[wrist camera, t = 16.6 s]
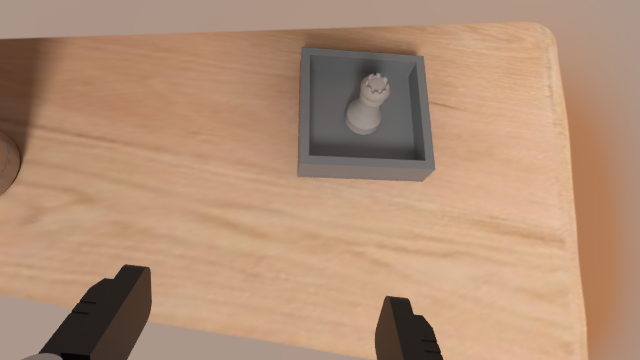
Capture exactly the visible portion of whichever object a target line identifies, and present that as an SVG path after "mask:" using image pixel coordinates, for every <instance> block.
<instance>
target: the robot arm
mask: <svg viewBox="0 0 640 360" xmlns="http://www.w3.org/2000/svg"><path fill="white" fill-rule="evenodd" d="M19 165H20V154H19V151H18V148H17V145H16V144H15V143H14V141H13V140H12V139H11V138H10V137H8V136H7V135H6V134H4V133H3V132H1V131H0V195H1V194H2V193H3V192H4V191H5V190H6V189H7V188H8V187H9V186H10V185H11V183H12V182H13V180H14V179H15V177H16V175H17V172H18V170H19ZM151 304H152V298H151V272H150V268H149V267H144V266H135V265H127V264H126V265H124V266H123V267H122V268H121V269H120V271H119V272H118V274H117V275H116V276H115V278H114V279H107V278H104V279H103V280H101V281H100V282H98V283H97V284H95V285H94V286H92V287H91V288H89V290H88V291H87V292H86V293H85V295H84V296H83V297H82V298H81V300H80V302H79V303H78V304H77V305H76V306H75V307H74V309H73V310H72V312H71V314H69V315H68V316H67V318H66V319H65V320H64V321H63V323H62V324H61V325H60V327H59V328H58V329H57V331H56V332H55V333H54V334H53V336H52V337H51V338H50V339H49V341H48V342H47V343H46V344H45V346H44V347H43V348H42V349H41V351H40V352H39V353H38V354H36V355H32V356H29V357H27V358H24V359H22V360H127V359H128V357H129V355H130V353H131V351H132V349H133V347H134V345H135V343H136V341H137V340H138V338H139V336H140V334H141V332H142V330H143V328H144V326H145V324H146V322H147V320H148V318H149V315H150V311H151ZM375 349H376V355H377V360H443V357H442V355H441V351H440V348H439V346H438V344H437V340H436V337H435V334H434V331H433V328H432V327H431V326H430V324H429V323H428V322H427V321H426V319H425V318H424V317H423V316H422V315H414V314H413V311H412V307H411V304H410V301H409V299H408V298H400V297H392V296H386V297H385V299H384V303H383V306H382V310H381V313H380V317H379V320H378V324H377V327H376V332H375Z"/></svg>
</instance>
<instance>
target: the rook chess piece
mask: <svg viewBox="0 0 640 360" xmlns="http://www.w3.org/2000/svg"><path fill="white" fill-rule="evenodd" d="M387 81H388V78H387V77H386V76H385V77H384V78H383V77H381V73H376V75H373V73H372V74H370V75H369V76H367V77H365V78H364V79H363V80H362V82H361V86H360V88H361V91H360V97H359V98H358V99H356V100H354V101H352V102H351V103H350V104H349V106H348V107H347V110H346V111H345V116H344V119H345V122H346V125H347V126H348V127H349V129H350V130H352V131H353V132H355V133H357V134H362V135H366V134H371V133H373V132H374V131H376V130H377V128H378V127H379V125H380V122H381V118H382V112H381V109H380V105H381V104H382V103H383V102H384V100H385V99H387V98H388V96H389V95H390V91H391V88H390V83H388V82H387Z"/></svg>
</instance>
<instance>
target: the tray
mask: <svg viewBox="0 0 640 360" xmlns="http://www.w3.org/2000/svg"><path fill="white" fill-rule="evenodd" d="M372 73H373V75H376V73H381V77H383V78H384V77H385V76H386V77H387V78H388V81H387V82H388V83H390V88H391V91H390V95H389V96H388V98H387V99H385V100H384V102H383V103H382V104H381V105H380V109H381V112H382V118H381V122H380V125H379V127H378V128H377V130H376V131H374V132H373V133H371V134H366V135H362V134H357V133H355V132H353V131H352V130H350V129H349V127H348V126H347V125H346V122H345V119H344V116H345V111H346V110H347V107H348V106H349V104H350V103H351V102H352V101H354V100H356V99H358V98H359V97H360V91H361V88H360V86H361V82H362V80H363V79H364V78H365V77H367V76H369V75H370V74H372ZM434 170H435V162H434V153H433V143H432V133H431V124H430V114H429V105H428V95H427V85H426V76H425V66H424V56H415V55H401V54H388V53H374V52H361V51H347V50H334V49H320V48H307V47H302V52H301V62H300V87H299V130H298V174H297V177H321V178H346V179H371V180H396V181H421V182H422V181H424V180H425V179H426V178H427V177H428V176H429V175H430V174H431V173H432V172H433V171H434Z"/></svg>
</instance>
